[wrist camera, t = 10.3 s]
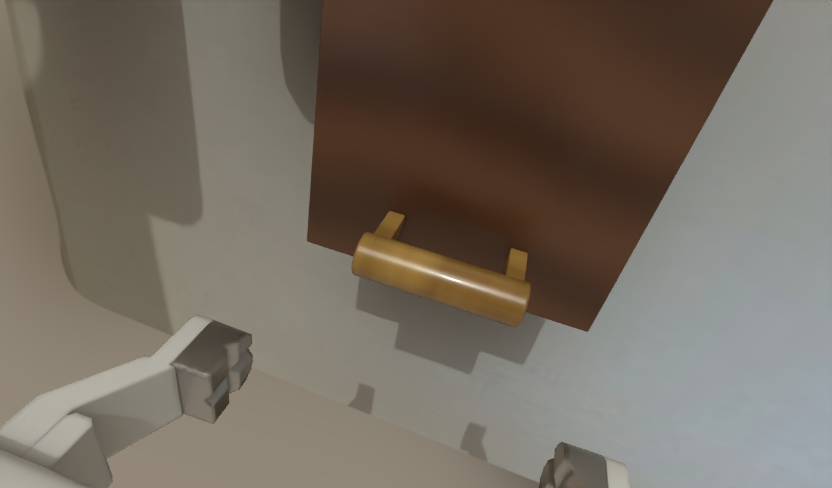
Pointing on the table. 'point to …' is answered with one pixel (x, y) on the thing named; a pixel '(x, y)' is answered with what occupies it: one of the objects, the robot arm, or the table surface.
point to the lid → (510, 140)
